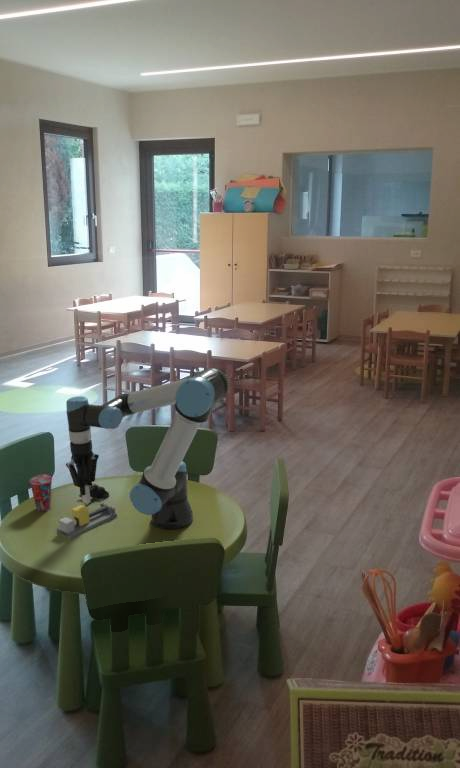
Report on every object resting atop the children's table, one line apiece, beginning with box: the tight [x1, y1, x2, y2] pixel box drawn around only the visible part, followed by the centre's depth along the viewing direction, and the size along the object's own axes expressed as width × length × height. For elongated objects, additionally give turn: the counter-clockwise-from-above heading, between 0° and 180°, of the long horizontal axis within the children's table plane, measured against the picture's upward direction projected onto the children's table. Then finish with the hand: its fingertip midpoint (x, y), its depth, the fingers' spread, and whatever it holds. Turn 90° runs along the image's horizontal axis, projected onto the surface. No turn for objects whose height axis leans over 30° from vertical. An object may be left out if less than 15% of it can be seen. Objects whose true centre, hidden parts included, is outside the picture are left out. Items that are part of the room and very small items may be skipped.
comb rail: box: [56, 502, 118, 539], centre depth 251 cm, size 21×8×5 cm, turn 139°
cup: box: [28, 473, 53, 512], centre depth 263 cm, size 9×8×12 cm
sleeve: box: [71, 504, 90, 526], centre depth 248 cm, size 4×4×6 cm
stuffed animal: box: [78, 483, 110, 507], centre depth 273 cm, size 12×10×12 cm
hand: (86, 501), depth 249 cm, fingers closed
